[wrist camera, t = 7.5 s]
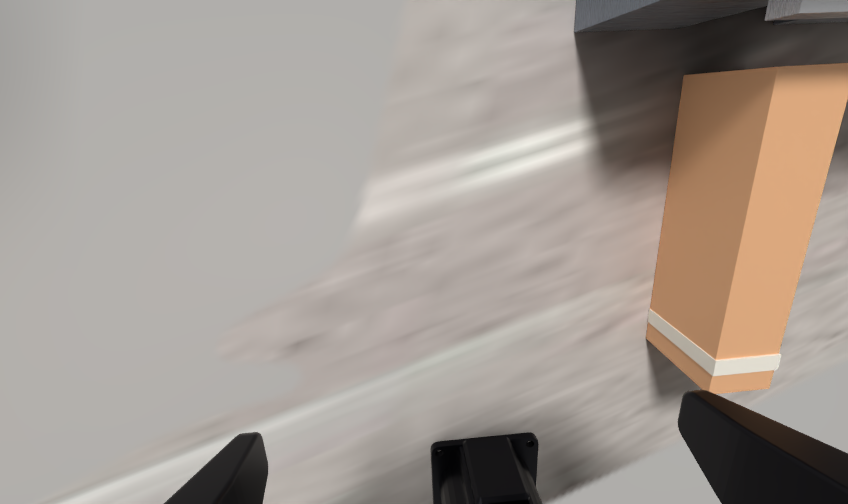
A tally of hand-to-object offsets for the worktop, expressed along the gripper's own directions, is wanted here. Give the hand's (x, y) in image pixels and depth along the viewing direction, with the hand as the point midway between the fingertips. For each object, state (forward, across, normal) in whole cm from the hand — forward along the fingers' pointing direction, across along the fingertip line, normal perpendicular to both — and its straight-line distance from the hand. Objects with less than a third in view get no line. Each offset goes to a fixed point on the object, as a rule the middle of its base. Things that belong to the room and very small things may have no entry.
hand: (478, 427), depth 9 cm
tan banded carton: (+13, -14, 0) cm, 19 cm away
